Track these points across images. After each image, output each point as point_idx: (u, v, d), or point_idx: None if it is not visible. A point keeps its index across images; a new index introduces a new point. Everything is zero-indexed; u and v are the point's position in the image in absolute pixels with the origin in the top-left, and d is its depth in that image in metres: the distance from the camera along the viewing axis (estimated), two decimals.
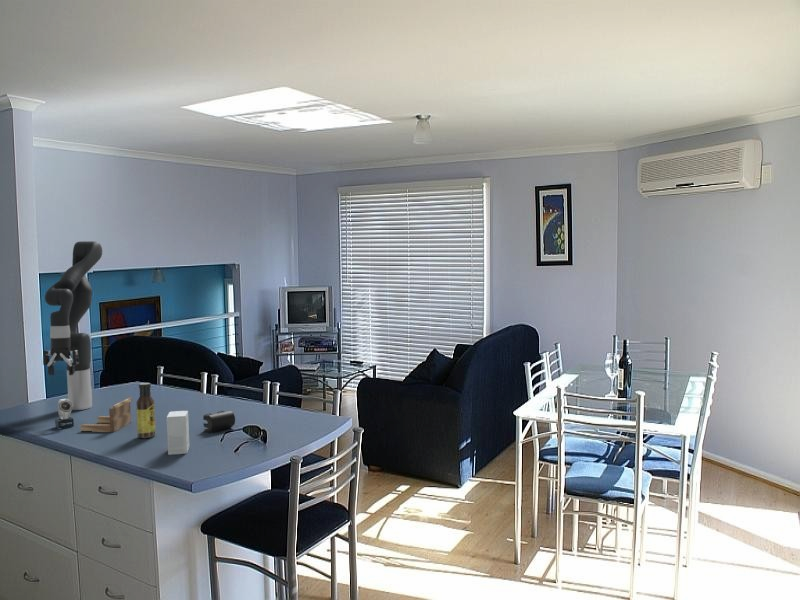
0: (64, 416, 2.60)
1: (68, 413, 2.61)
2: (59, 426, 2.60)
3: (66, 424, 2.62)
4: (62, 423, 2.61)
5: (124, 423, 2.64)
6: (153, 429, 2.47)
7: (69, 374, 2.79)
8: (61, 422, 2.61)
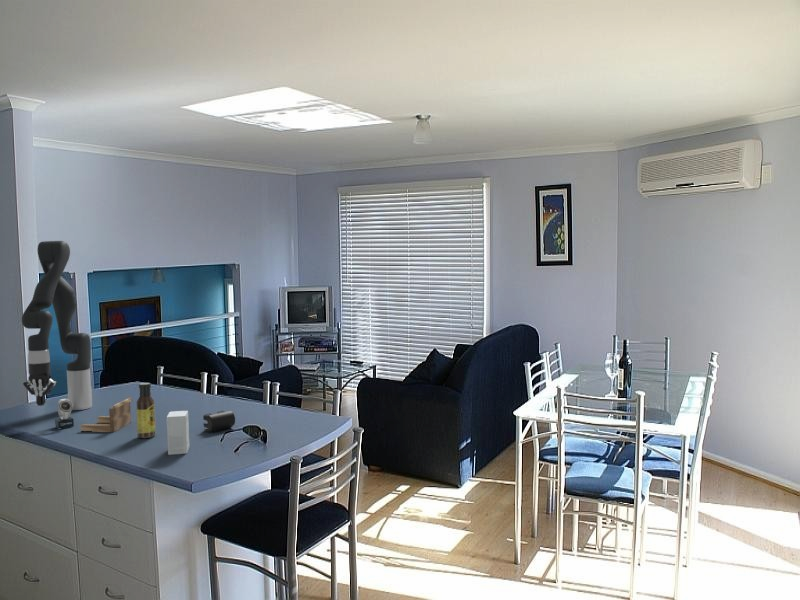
0: (64, 416, 2.60)
1: (68, 413, 2.61)
2: (59, 426, 2.60)
3: (66, 424, 2.62)
4: (62, 423, 2.61)
5: (124, 423, 2.64)
6: (153, 429, 2.47)
7: (39, 404, 2.62)
8: (61, 422, 2.61)
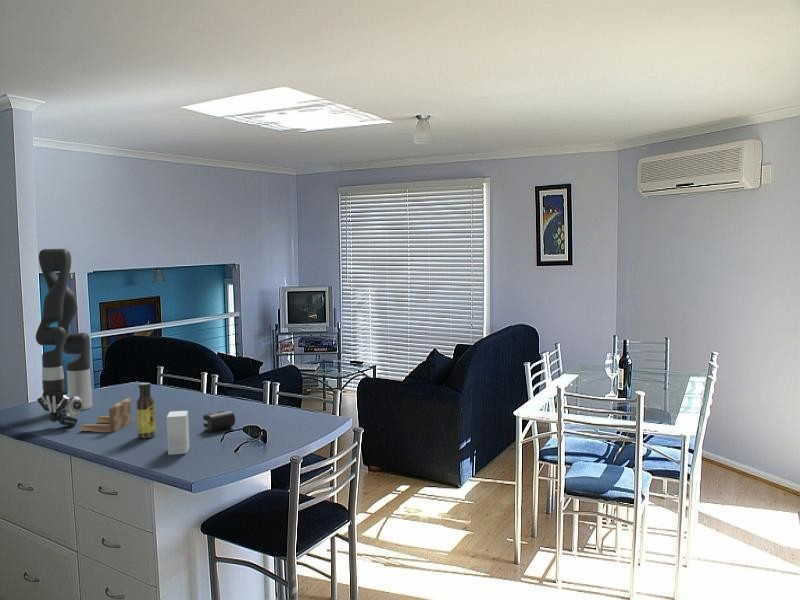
0: (71, 414, 2.61)
1: (76, 413, 2.61)
2: (62, 422, 2.60)
3: (69, 422, 2.62)
4: (66, 420, 2.61)
5: (124, 423, 2.64)
6: (153, 429, 2.47)
7: (53, 421, 2.62)
8: (66, 419, 2.61)
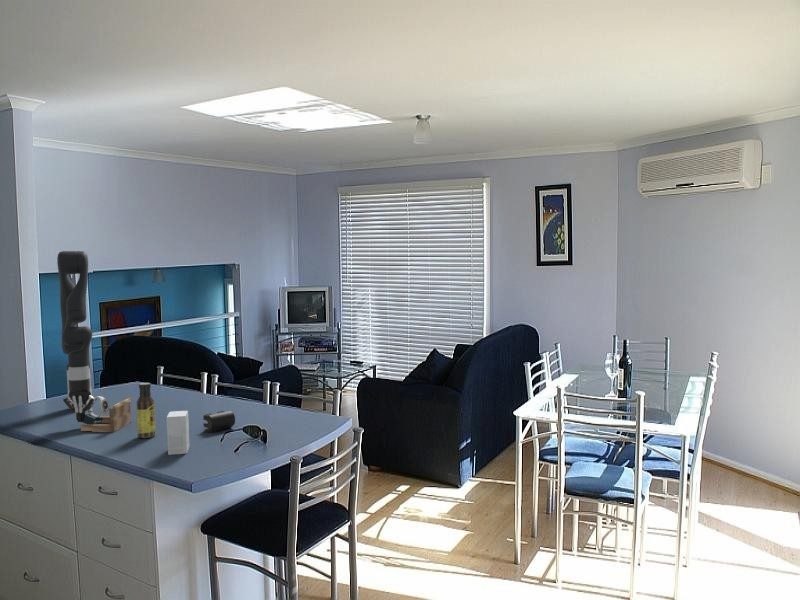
0: (101, 415, 2.62)
1: (105, 412, 2.64)
2: (93, 423, 2.61)
3: (97, 422, 2.63)
4: (95, 421, 2.62)
5: (124, 423, 2.64)
6: (153, 429, 2.47)
7: (79, 421, 2.61)
8: (95, 420, 2.62)
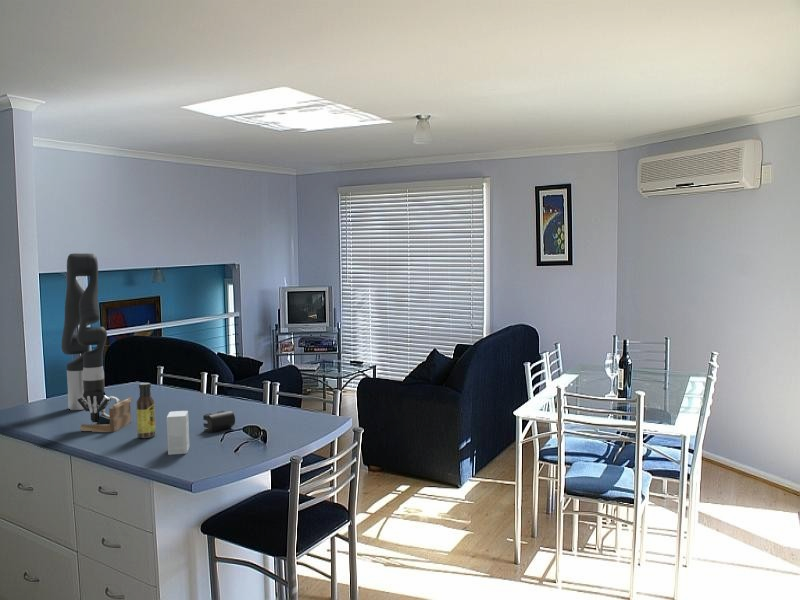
0: None
1: None
2: None
3: None
4: None
5: (124, 423, 2.64)
6: (153, 429, 2.47)
7: (94, 421, 2.61)
8: None
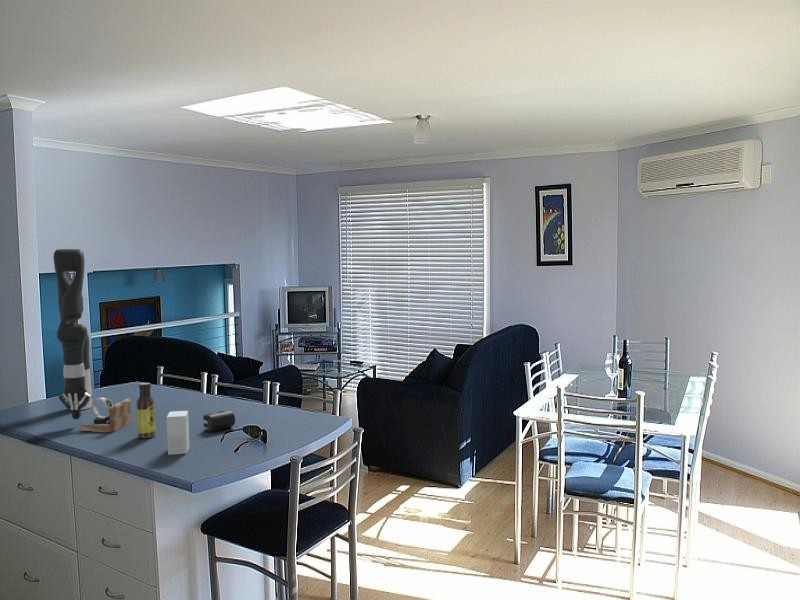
0: None
1: None
2: None
3: (108, 422, 2.65)
4: (106, 421, 2.64)
5: (124, 423, 2.64)
6: (153, 429, 2.47)
7: (75, 418, 2.62)
8: (106, 420, 2.63)
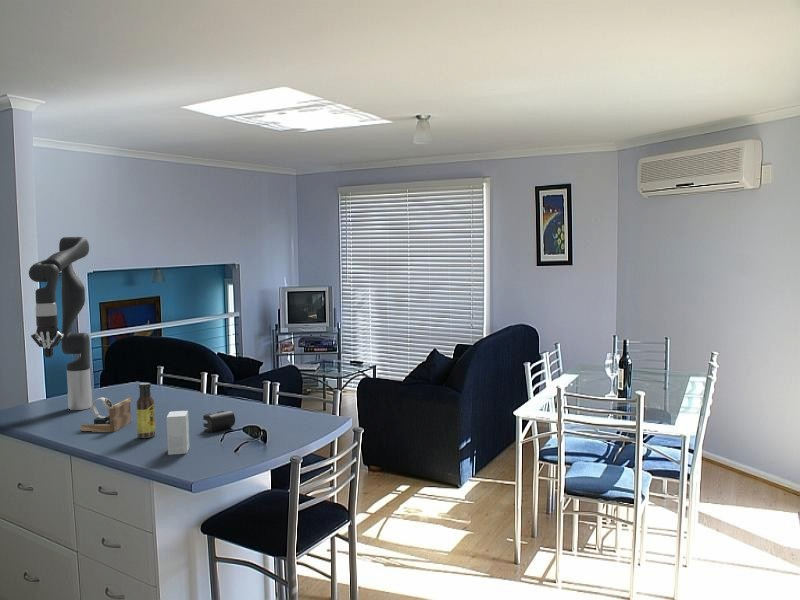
0: None
1: None
2: None
3: (108, 422, 2.65)
4: (106, 421, 2.64)
5: (124, 423, 2.64)
6: (153, 429, 2.47)
7: (47, 356, 2.67)
8: (106, 420, 2.63)
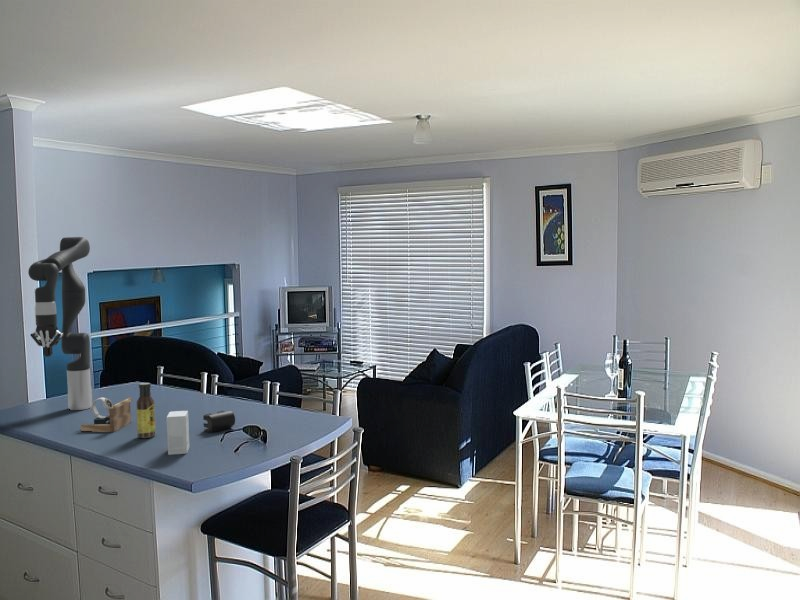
0: None
1: None
2: None
3: (108, 422, 2.65)
4: (106, 421, 2.64)
5: (124, 423, 2.64)
6: (153, 429, 2.47)
7: (47, 355, 2.67)
8: (106, 420, 2.63)
